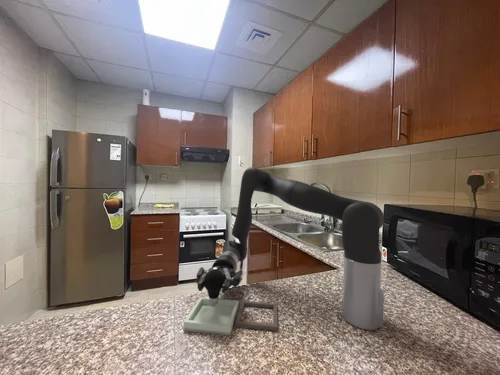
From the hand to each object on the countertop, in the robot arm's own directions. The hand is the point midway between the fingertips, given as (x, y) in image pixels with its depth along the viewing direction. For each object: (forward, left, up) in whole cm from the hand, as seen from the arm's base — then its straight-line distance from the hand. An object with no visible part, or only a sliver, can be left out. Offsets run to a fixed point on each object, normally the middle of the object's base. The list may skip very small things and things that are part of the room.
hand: (211, 288), depth 55 cm
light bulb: (0, -3, -6) cm, 7 cm away
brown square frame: (-12, -5, -9) cm, 16 cm away
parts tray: (0, -2, -9) cm, 10 cm away
